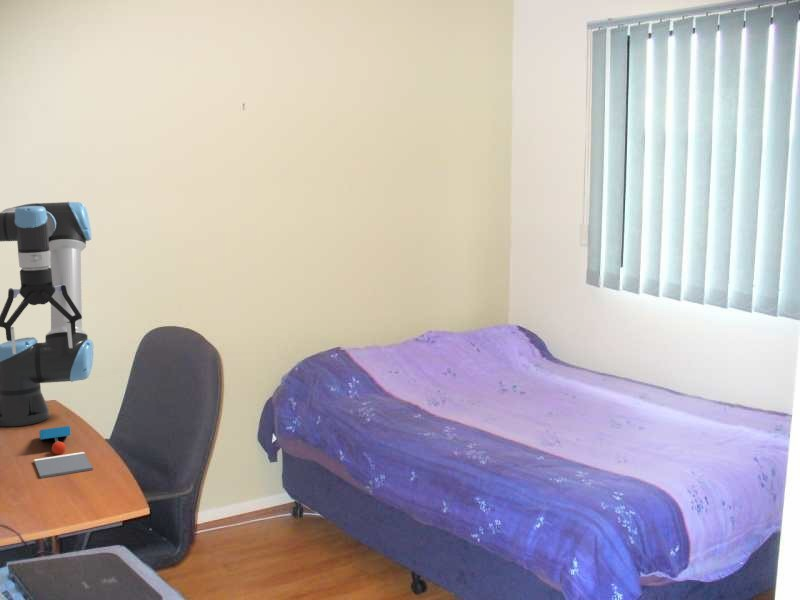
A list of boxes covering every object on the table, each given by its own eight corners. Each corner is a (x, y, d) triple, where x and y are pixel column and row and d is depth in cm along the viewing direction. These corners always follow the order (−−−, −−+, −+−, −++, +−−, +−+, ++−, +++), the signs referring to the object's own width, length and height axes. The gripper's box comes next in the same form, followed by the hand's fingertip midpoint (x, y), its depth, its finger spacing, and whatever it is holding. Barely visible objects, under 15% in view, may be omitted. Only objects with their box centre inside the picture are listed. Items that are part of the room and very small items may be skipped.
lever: (41, 456, 265) (45, 456, 248) (39, 431, 265) (42, 429, 249) (68, 453, 267) (74, 452, 251) (65, 427, 268) (71, 425, 252)
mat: (34, 461, 245) (33, 459, 245) (84, 454, 250) (83, 451, 250) (40, 478, 233) (40, 475, 232) (92, 469, 238) (92, 467, 238)
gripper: (-18, 273, 239) (-10, 358, 243) (88, 265, 249) (95, 347, 253) (-19, 269, 246) (-11, 352, 250) (85, 262, 256) (91, 341, 260)
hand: (42, 350), depth 252 cm, fingers open, 13 cm apart
